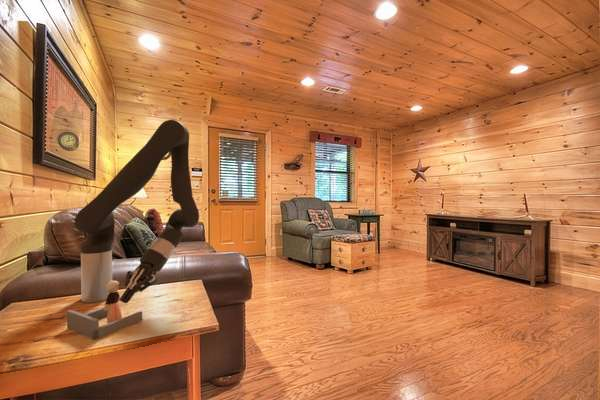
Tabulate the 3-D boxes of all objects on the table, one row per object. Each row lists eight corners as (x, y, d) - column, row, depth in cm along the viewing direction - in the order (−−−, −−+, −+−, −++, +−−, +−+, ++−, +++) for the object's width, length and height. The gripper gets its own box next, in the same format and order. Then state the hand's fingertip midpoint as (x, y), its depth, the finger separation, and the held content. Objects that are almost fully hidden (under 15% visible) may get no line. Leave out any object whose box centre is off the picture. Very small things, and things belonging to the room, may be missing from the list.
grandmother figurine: (118, 328, 80) (116, 283, 80) (102, 330, 79) (100, 285, 79) (125, 316, 88) (124, 276, 87) (111, 318, 87) (109, 277, 86)
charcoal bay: (67, 328, 80) (66, 310, 80) (115, 311, 92) (114, 296, 92) (94, 339, 74) (94, 320, 74) (142, 320, 85) (142, 303, 85)
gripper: (138, 246, 99) (101, 292, 88) (163, 249, 92) (127, 299, 82) (152, 258, 103) (119, 303, 93) (178, 262, 97) (144, 311, 87)
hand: (122, 301), depth 87 cm, fingers closed
